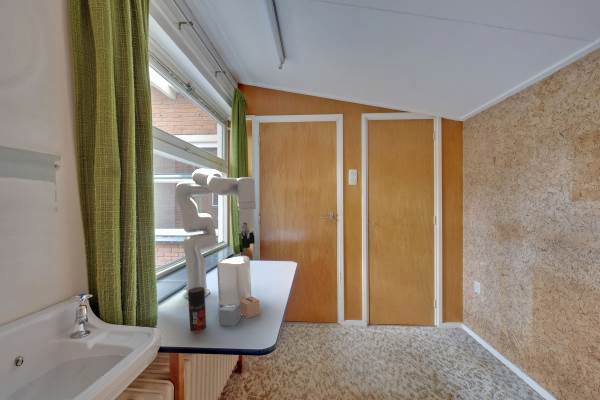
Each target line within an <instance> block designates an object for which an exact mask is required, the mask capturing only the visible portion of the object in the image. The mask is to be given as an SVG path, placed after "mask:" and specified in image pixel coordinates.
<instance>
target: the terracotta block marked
mask: <svg viewBox="0 0 600 400" xmlns="http://www.w3.org/2000/svg"><path fill="white" fill-rule="evenodd" d="M260 313H261V311H260V299H259V298H256V297H254V296H252V295H251V297H248V298H245V299H242V300H240V315H241V314H242V315H241V316H243V317H244V316H245V317H244V318H246V319H249V317H250V318H252V317H255V316H257V315H259V314H260Z"/></svg>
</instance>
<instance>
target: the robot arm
mask: <svg viewBox="0 0 600 400" xmlns="http://www.w3.org/2000/svg"><path fill="white" fill-rule="evenodd" d="M193 171H194V172H192V175H191V178H192V180H185V181H181V182H178V184H176V187H175V190H174V193H175V194H174V195H175V199H176V201H177V203H178V206H179V210H180V216H181V217H180V218H181V221H182V227H183V229H184V231H185V232H186V233H192V234H191V235H189V236H186V237H184V239H183V241H182V248H183V251H184V252H183V253H184V255H185V256H184V257H185V268H186V269H185V271H186V285H185V286H184V287H183V290H186V292H185V293H184V295H183V296H184V298H185V299H188V290H190V289H192V288H196V287H203V288H204V290H205V297H207V296H208V295H210V294H211V290H210V289H209V288H208V287H207V286H208V285H207V269H206V267H207V265H206V259H205V257H204V255H203V254H202V253H203V252H207V251H212V250H214V249H215V248H216V247H217V245H218V239H217V233H216V227H215V221H214V219H213V217H212V215H210V214H209V213H199V208H198V205H197V203H196V202H195V201H194V200H193V199H192V198H205V197H208V196H210V195H211V194H215V195H218V196H237V209H238V210H237V211H239V214H238V218H239V219H238V232H239V234H241V248H242V249H250V248H251V245H255V243H256V242H255V240H256V239H255V229H256V228H255V223H256V222H255V213H254V210H256V209H257V208H256V184H255V179H254V178H253V177H248V176H247V177H246V176H245V177H239V178H234V177H223V176H222V174H221V172H220V171H219V170H217V169H210V168H199V169H196V170H193ZM199 232H203V233H199ZM193 233H197V234H193Z"/></svg>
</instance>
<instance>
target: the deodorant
mask: <svg viewBox="0 0 600 400" xmlns="http://www.w3.org/2000/svg"><path fill="white" fill-rule="evenodd" d="M205 297H206V296H205V290H204V288H203V287H196V288H192V289H190V290H188V317H189V318H188V319H189V320H188V321H189V330H190V332H192V333H196V332H197V333H198V332H201V331H203V330H205V329H206V328H207V315H206V314H207V313H206V298H205Z"/></svg>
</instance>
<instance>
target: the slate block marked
mask: <svg viewBox="0 0 600 400" xmlns="http://www.w3.org/2000/svg"><path fill="white" fill-rule="evenodd" d="M218 319H219V320H218V321H219V326H230V325H232V327H233V326H235V323H236V322H237V321H238V320H239V321H240V319H241V314H240V305H239V304H225V305H224V306H221V307H220V308H219V310H218ZM239 321H238V322H239ZM238 322H237V323H238ZM237 323H236V324H237Z"/></svg>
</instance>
